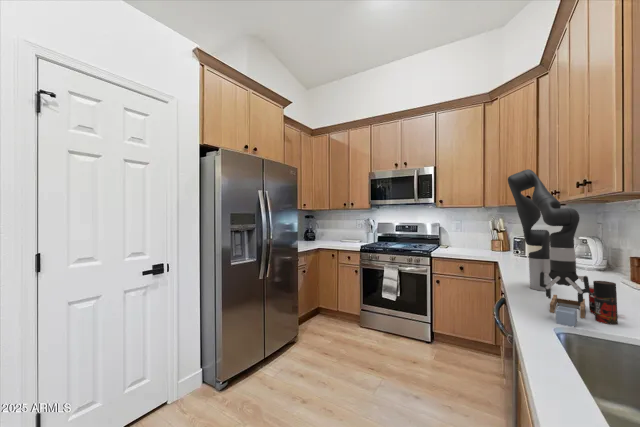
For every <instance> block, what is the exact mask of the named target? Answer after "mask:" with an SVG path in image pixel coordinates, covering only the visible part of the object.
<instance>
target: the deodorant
mask: <svg viewBox="0 0 640 427" xmlns="http://www.w3.org/2000/svg"><path fill="white" fill-rule="evenodd" d="M592 285H594V307H595V314H594V320H595V321H596V322H598V323H601V322H602V323H601V324H605V325H613V326H614V325H616V326H617V325H618V324H619V320H618V318H619V317H618V297H617V296H616V293H617V283H616V282H612V281H607V280H593V284H592Z"/></svg>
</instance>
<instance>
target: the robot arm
mask: <svg viewBox="0 0 640 427" xmlns="http://www.w3.org/2000/svg"><path fill="white" fill-rule="evenodd" d="M507 184H508V186H509V188H510V189H509V190H510V192H511V195H512V197H513V199H514V202H515V206H516V211H517V215H518V217H519V220H520V224H521V227H522V232H523V237H524V242H525V244H526V245H528V246H530V247H531V246H533V247H534V246H535V247H541V248H540V249H538V250H535V251H530V252H529V253H528V267H529V288H530V289H532V290H535V291H542V292H543V291H544V292H545V297H546V298H547V299H551V300H552V287H553V286H555V284H556V285H558V286H566V287H569V286H571V287H572V288H573V289H575V291H576V292H577V301H578V303H580V304H581V302H583V299H584V294H586V293H587V294H589V292H590V289H589V285H590V283H589V276H587V275H578V274H577V260H576V259H577V257H576V250H575V235H576V232H577V229H578V226H579V224H580V217H581V216H580V214H579V212H578V211H577V209H574V208H572V207H570V208H569V207H568V208H567V207H566V208H565V207H563V208H562V205H561V202H560V201H559V200H558V199H557V198H556V197H555V196H554V195H553V194H552V193H550V191H549V190H548V189H547V188H546V186H545V185H544V183H543V181H542V180H541V179H540V177H539V176H538V175H537V174H536V172H534V171H533V170H532V169H524V170H522V171H519V172H518V171H517V172H516V173H513V174H511V175H508V177H507ZM532 188H534V190H533V192H532V195H531V196H532V197H531V198H529V197H527V196H525V195H524V194H523V193H521V192H523V191H527V190H530V189H532ZM540 218H542V220H543V222H544V223H545V225H547V226H550V227H561V229H560V231H554V232H552V233H550V232H549V230H547V229H533V227H534V226H535V225H536V224H537V223H538V222H539V220H540ZM578 280H580V281H581V282H582V283H583V285H584V288H581V287H580V286H579V285H578V283H576V282H577V281H578Z"/></svg>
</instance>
